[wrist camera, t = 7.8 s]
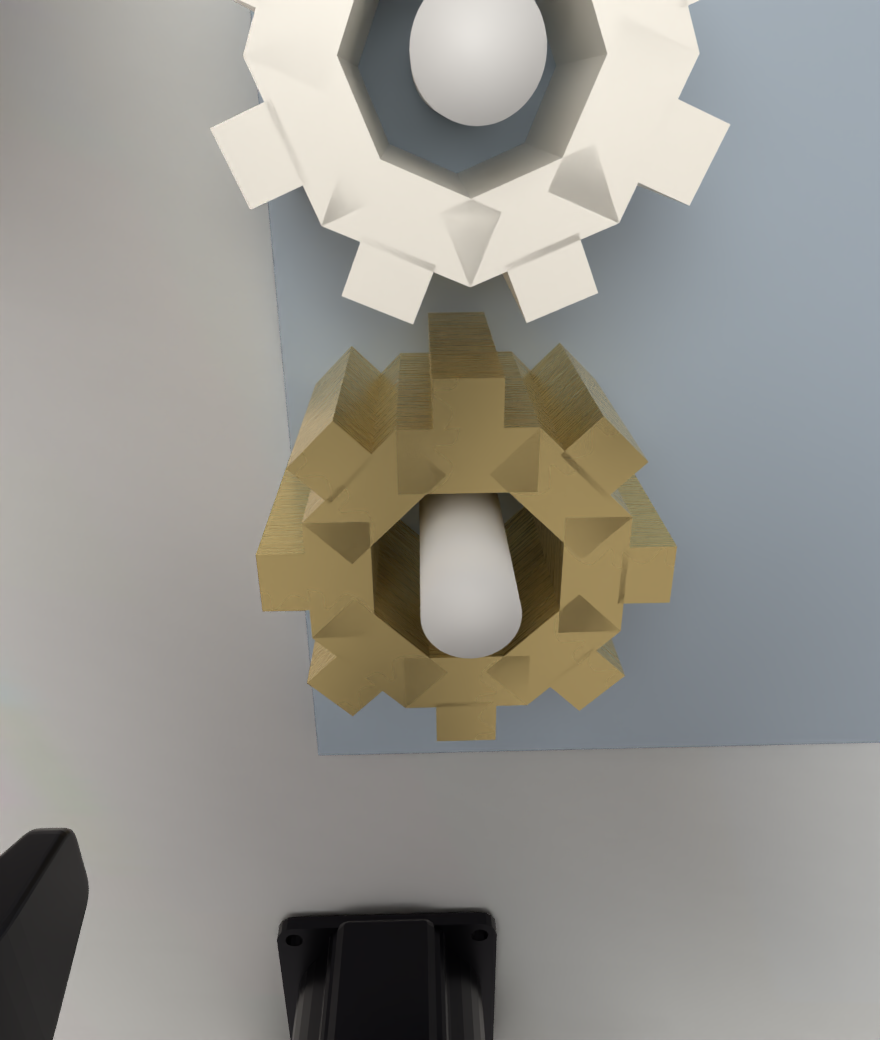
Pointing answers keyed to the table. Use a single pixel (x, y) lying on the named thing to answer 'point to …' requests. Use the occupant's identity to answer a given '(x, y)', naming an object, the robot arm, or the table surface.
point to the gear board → (658, 377)
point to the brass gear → (449, 470)
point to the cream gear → (490, 184)
